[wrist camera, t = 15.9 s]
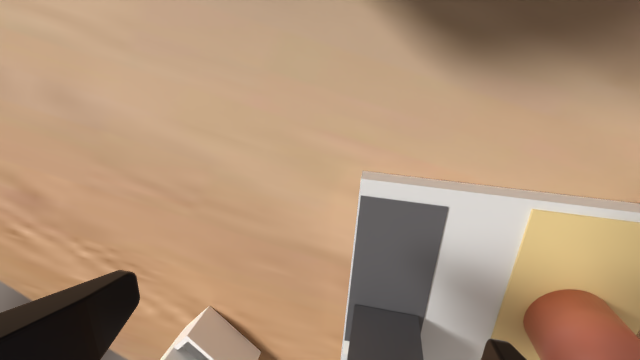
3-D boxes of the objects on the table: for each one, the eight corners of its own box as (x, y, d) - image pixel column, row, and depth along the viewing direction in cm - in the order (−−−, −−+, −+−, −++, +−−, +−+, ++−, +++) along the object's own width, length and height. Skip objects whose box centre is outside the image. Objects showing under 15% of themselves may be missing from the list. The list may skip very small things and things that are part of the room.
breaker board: (362, 170, 19) (360, 179, 18) (667, 206, 17) (696, 221, 15) (343, 345, 24) (340, 364, 23) (577, 394, 21) (592, 420, 20)
